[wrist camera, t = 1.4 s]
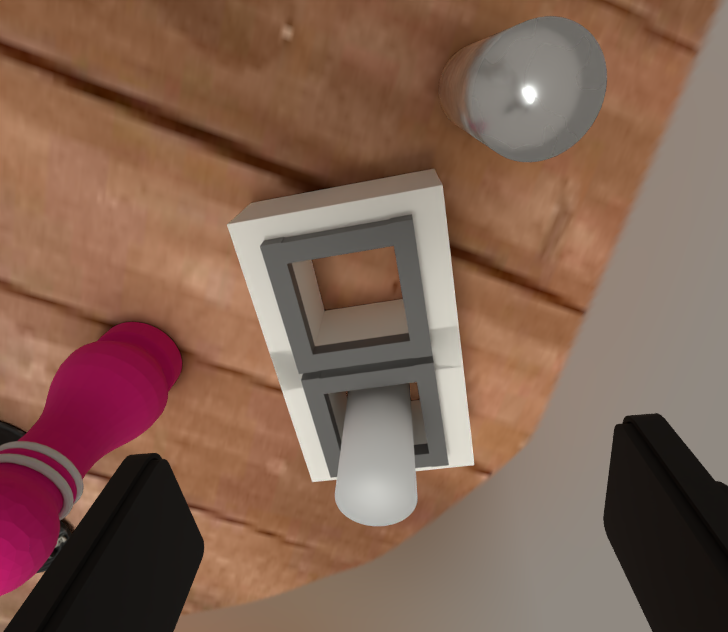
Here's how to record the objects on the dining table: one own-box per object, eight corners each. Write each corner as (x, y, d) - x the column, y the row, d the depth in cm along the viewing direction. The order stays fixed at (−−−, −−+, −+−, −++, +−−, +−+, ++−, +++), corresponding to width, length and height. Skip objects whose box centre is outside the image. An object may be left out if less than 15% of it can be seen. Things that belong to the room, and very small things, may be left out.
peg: (434, 52, 26) (466, 33, 15) (516, 34, 25) (610, 1, 15) (443, 136, 28) (477, 172, 17) (519, 121, 27) (604, 149, 17)
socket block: (250, 203, 30) (175, 271, 20) (434, 168, 29) (461, 221, 18) (321, 435, 39) (295, 570, 28) (464, 419, 37) (494, 554, 27)
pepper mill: (113, 298, 34) (-190, 539, 16) (203, 344, 35) (17, 613, 18) (85, 366, 37) (-196, 634, 19) (169, 407, 38) (-18, 690, 21)
